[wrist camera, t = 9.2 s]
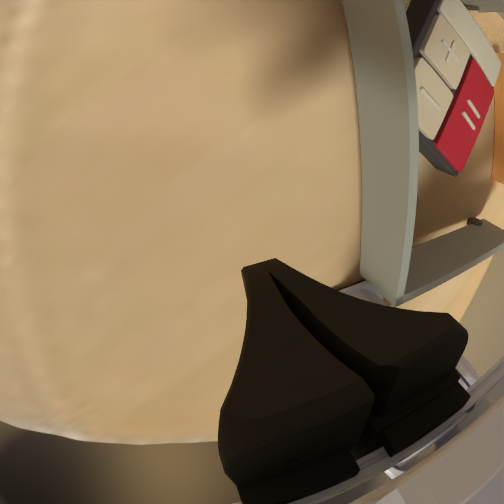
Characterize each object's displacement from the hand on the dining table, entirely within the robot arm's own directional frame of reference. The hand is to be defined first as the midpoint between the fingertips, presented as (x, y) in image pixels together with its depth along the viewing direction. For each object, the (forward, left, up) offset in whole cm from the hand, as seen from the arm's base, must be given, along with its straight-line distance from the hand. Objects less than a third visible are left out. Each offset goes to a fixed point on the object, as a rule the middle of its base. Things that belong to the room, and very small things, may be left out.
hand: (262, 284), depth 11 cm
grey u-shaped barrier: (+5, -21, -9) cm, 23 cm away
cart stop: (+5, -34, -9) cm, 35 cm away
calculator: (+8, -20, -10) cm, 24 cm away
